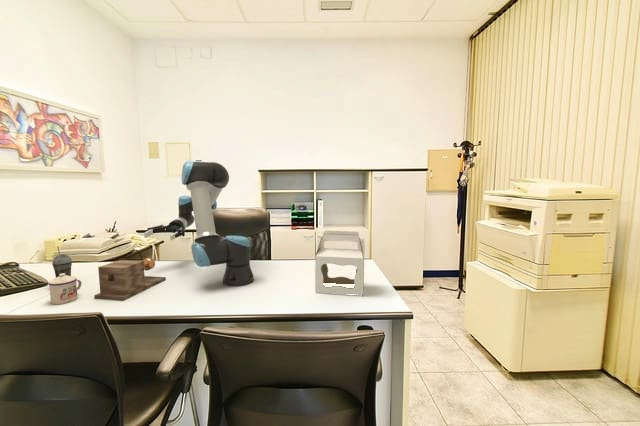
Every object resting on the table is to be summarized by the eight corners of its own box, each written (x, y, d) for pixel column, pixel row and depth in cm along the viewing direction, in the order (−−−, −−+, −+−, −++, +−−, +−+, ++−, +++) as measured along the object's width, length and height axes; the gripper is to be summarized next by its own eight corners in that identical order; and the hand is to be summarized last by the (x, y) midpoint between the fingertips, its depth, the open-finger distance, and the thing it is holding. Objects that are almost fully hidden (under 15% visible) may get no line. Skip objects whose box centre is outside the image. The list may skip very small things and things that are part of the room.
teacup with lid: (62, 305, 120) (59, 278, 118) (44, 303, 122) (41, 276, 120) (90, 294, 131) (88, 269, 130) (73, 293, 133) (71, 268, 132)
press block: (141, 278, 154) (139, 253, 152) (165, 280, 151) (164, 254, 150) (94, 298, 127) (92, 268, 126) (123, 300, 125) (120, 269, 123)
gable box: (314, 293, 135) (314, 232, 132) (319, 283, 148) (319, 228, 145) (363, 296, 131) (364, 234, 128) (364, 286, 144) (365, 229, 141)
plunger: (144, 268, 150) (144, 257, 150) (155, 269, 149) (154, 257, 149) (108, 283, 129) (107, 269, 129) (120, 283, 128) (119, 270, 128)
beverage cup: (77, 285, 143) (74, 244, 141) (59, 290, 137) (55, 247, 135) (69, 282, 146) (65, 243, 144) (51, 287, 140) (47, 246, 138)
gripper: (198, 233, 175) (182, 245, 154) (156, 229, 175) (134, 241, 154) (198, 221, 173) (181, 232, 152) (156, 217, 173) (133, 227, 152)
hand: (158, 236), depth 153 cm, fingers open, 13 cm apart
